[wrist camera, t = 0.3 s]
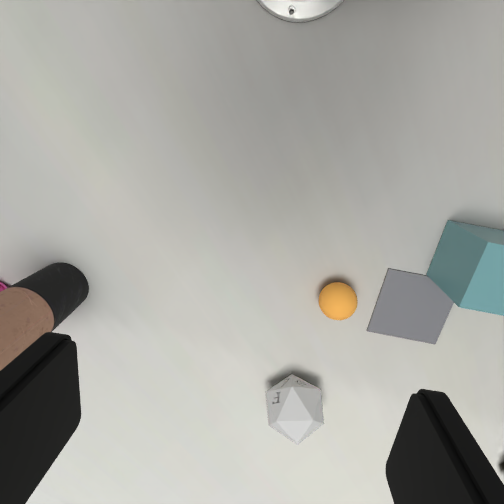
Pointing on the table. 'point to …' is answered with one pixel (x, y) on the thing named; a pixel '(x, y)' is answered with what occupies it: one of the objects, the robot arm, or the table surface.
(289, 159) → the table surface
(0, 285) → the pencil case
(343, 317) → the ball
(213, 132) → the table surface
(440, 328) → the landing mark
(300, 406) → the die
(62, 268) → the travel mug
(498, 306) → the teal toy cube
